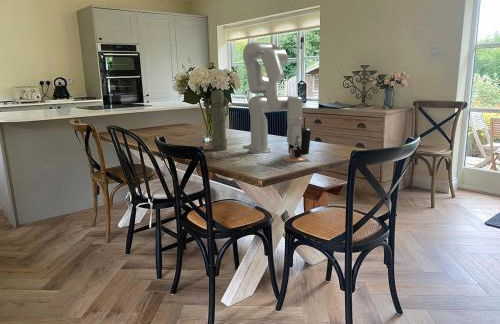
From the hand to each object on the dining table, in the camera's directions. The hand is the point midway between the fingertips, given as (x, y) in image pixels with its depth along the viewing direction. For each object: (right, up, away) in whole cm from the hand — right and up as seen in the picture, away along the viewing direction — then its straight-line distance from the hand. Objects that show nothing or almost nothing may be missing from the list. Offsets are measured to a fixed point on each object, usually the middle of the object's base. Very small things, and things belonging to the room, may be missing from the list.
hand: (294, 155), depth 193 cm
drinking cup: (+7, +1, +15) cm, 17 cm away
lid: (0, -2, +1) cm, 2 cm away
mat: (0, -3, +1) cm, 3 cm away
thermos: (-41, +4, +34) cm, 53 cm away
